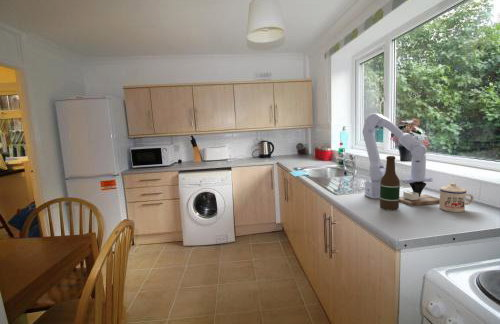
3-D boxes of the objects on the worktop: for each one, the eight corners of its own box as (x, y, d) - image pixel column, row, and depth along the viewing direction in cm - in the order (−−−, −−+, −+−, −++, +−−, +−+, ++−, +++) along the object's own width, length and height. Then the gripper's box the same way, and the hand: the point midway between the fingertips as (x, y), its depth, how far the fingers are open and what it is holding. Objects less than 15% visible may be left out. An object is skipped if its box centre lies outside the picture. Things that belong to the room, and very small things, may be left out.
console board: (410, 206, 115) (410, 202, 115) (394, 200, 125) (394, 197, 125) (443, 202, 118) (443, 199, 118) (425, 197, 128) (425, 194, 127)
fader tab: (411, 200, 118) (411, 193, 117) (403, 197, 123) (403, 191, 122) (418, 199, 118) (419, 193, 118) (410, 196, 123) (410, 190, 123)
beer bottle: (396, 206, 116) (398, 155, 113) (401, 211, 108) (403, 157, 105) (378, 205, 118) (379, 155, 115) (381, 210, 111) (382, 157, 108)
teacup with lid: (443, 211, 106) (444, 185, 104) (435, 205, 114) (436, 180, 113) (478, 213, 102) (480, 186, 100) (467, 207, 110) (469, 181, 109)
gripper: (411, 171, 114) (410, 200, 116) (438, 169, 116) (437, 197, 118) (400, 169, 121) (399, 196, 123) (425, 167, 123) (424, 194, 125)
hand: (416, 196), depth 121 cm, fingers closed
